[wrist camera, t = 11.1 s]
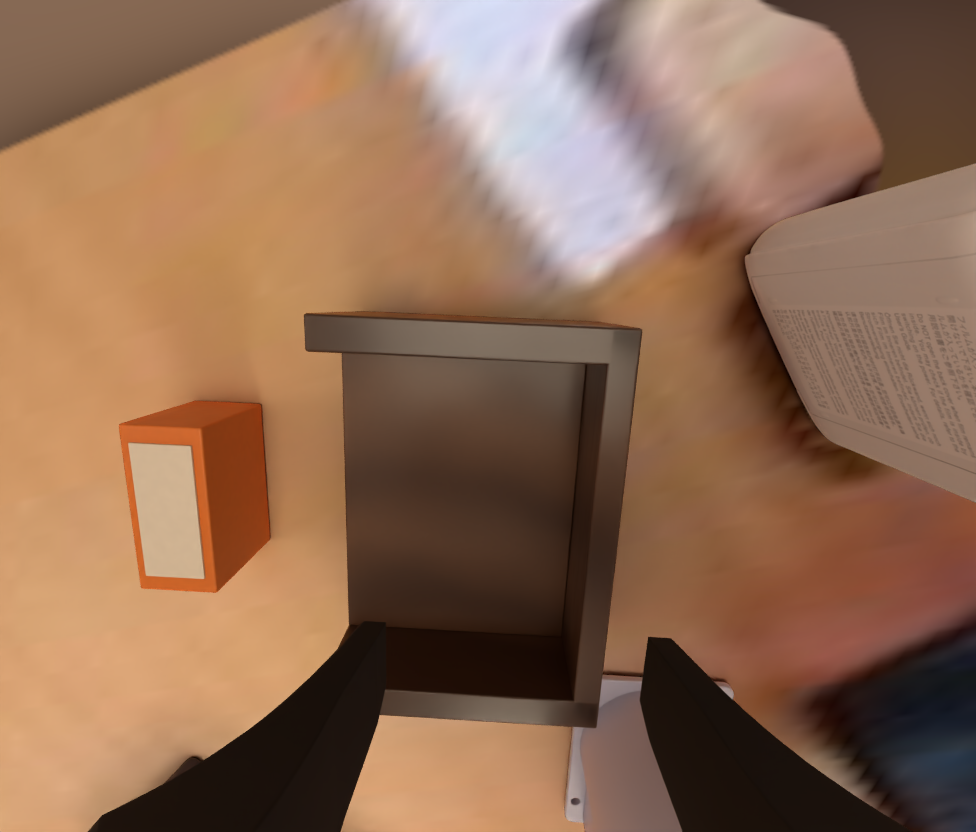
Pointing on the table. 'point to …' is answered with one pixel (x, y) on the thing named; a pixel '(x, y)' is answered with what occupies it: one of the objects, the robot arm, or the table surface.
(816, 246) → the white piece
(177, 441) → the packet
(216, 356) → the table surface
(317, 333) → the shelf
